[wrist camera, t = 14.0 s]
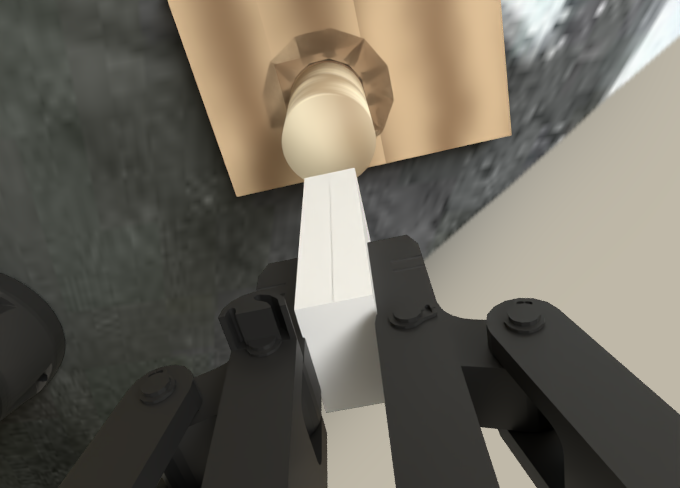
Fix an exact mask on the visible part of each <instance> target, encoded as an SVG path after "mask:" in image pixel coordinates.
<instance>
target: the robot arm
mask: <svg viewBox="0 0 680 488" xmlns="http://www.w3.org/2000/svg"><path fill="white" fill-rule="evenodd" d="M218 319H219V321H220V324H221V326H222V329H223V331H224V334H225V336H226V339H227V341H228V344H229V347H230V349H231V355H230V359H229V361H228V362H227V363H225V364H224V365H222V366H220V367H218V368H216V369H214V370H211V371H209V372H207V373H204V374H202V375H199V376H197V377H193V374H192V372H191V371H190V370H189V369H187V368H186V367H185V366H179V365H170V366H164V367H160V368H158V369H156V370H153V371H151V372H149V373H147V374H146V375H144V376H143V377H141V378H140V379H138V380H137V381H136V382H135V383H134V384H133V385H132V386H131V387H130V388H129V389H128V391H127V392H126V393H125V395H124V396H123V398H122V399H121V400H120V402H119V403H118V405H117V406H116V407H115V409H114V410H113V412H112V413H111V414H110V416H109V417H108V419H107V420H106V421H105V423H104V424H103V426H102V427H101V428H100V430H99V431H98V433H97V434H96V435H95V437H94V438H93V440H92V441H91V442H90V444H89V445H88V447H87V448H86V449H85V451H84V452H83V454H82V455H81V456H80V458H79V459H78V461H77V462H76V463H75V465H74V466H73V468H72V469H71V470H70V472H69V473H68V475H67V476H66V477H65V479H64V480H63V482H62V483H61V484H60V486H59V487H58V488H327V432H326V428H325V424H324V421H323V418H322V415H321V398H322V401H323V404H324V408H325V411H326V413H329V412H334V411H340V410H345V409H351V408H357V407H363V406H368V405H374V404H379V403H385V406H386V414H387V422H388V430H389V438H390V445H391V452H392V461H393V468H394V476H395V484H396V488H499V484H498V481H497V478H496V475H495V472H494V469H493V466H492V462H491V459H490V456H489V453H488V450H487V447H486V444H485V441H484V437H483V434H482V431H481V428H480V427H485V428H495V429H498V431H499V433H500V436H501V437H502V439H503V440H504V442H505V443H506V444H507V446H508V447H509V448H510V450H511V452H512V453H513V454H514V456H515V457H516V459H517V460H518V461H519V463H520V464H521V466H522V467H523V469H524V470H525V471H526V473H527V474H528V475H529V477H530V478H531V480H532V481H533V483H534V484H535V486H536V487H537V488H680V415H679V414H678V413H677V412H676V411H675V410H674V409H673V408H672V407H670V406H669V405H668V404H667V403H666V402H665V401H663V400H662V399H661V398H660V397H659V396H658V395H656V393H654V392H653V391H652V390H651V389H650V388H649V387H647V386H646V385H645V384H643V382H642V381H641V380H639V379H638V378H637V377H636V376H635V375H634V374H632V373H631V372H630V371H629V370H628V369H627V368H626V367H625V366H623V365H622V364H621V363H620V362H619V361H618V360H616V359H615V358H614V357H613V356H612V355H611V354H610V353H608V352H607V351H606V350H605V349H604V348H603V347H601V346H600V345H599V344H598V343H597V342H596V341H595V340H594V339H592V338H591V337H590V336H589V335H588V334H587V333H585V332H584V331H583V330H582V329H581V328H580V327H579V326H577V325H576V324H575V323H574V322H573V321H572V320H571V319H569V318H568V317H567V316H566V315H565V314H564V313H563V312H561V311H560V310H559V309H558V308H556V307H555V306H553V305H551V304H550V303H548V302H545V301H541V300H537V299H534V298H531V299H530V298H517V299H513V300H508V301H504V302H503V303H500V304H498V305H497V306H495V307H493V309H492V310H491V311H490V312H489V313H488V314H487V320H473V319H463V318H459V317H456V316H452V315H450V314H448V313H446V312H445V311H443V309H441V307H440V306H439V304H438V303H437V301H436V299H435V295H434V292H433V289H432V286H431V283H430V280H429V276H428V273H427V270H426V267H425V264H424V260H423V257H422V254H421V251H420V248H419V245H418V243H417V242H416V241H414V240H413V239H412V238H410V237H409V236H408V235H403V236H398V237H393V238H388V239H383V240H378V241H373V242H370V237H369V232H368V228H367V223H366V218H365V214H364V209H363V204H362V200H361V195H360V190H359V185H358V181H357V176H356V171H355V168H351V169H346V170H341V171H336V172H332V173H327V174H322V175H317V176H313V177H308V178H304V191H303V204H302V216H301V229H300V242H299V254H298V258H295V259H290V260H285V261H280V262H275V263H270V264H268V265H267V266H266V268H265V269H264V270H263V271H262V273H261V274H260V275H259V276H258V282H257V287H256V292H253V293H250V294H246V295H243V296H241V297H239V298H237V299H236V300H234V301H232V302H231V303H229V304H228V305H227V306H226V307H225V308H224V309H223V310H222V312H221V314H220V315H219V317H218ZM64 352H65V338H64V333H63V330H62V327H61V324H60V322H59V320H58V318H57V317H56V315H55V314H54V312H53V311H52V309H51V308H50V307H49V306H48V305H47V303H46V302H45V301H44V300H43V299H42V298H41V297H40V296H38V295H37V294H36V293H35V292H34V291H32V290H31V289H30V288H28V287H27V286H25V285H24V284H22V283H20V282H19V281H17V280H15V279H13V278H11V277H9V276H6V275H4V274H1V273H0V421H1V420H2V419H3V418H5V417H6V416H7V415H9V414H10V413H12V412H13V411H14V410H16V409H17V408H18V407H20V406H21V405H22V404H24V403H25V402H26V401H28V400H29V399H30V398H32V397H33V396H34V395H36V394H37V393H38V392H40V391H41V390H42V389H43V388H44V387H45V386H46V385H47V384H48V383H49V381H50V380H51V378H52V377H53V375H54V374H55V372H56V370H57V369H58V367H59V366H60V364H61V362H62V360H63V357H64ZM161 476H162V478H161ZM160 478H161V480H160ZM159 480H160V481H159ZM158 482H159V483H158ZM157 483H158V485H157ZM156 485H157V486H156Z"/></svg>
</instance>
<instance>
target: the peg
mask: <svg viewBox="0 0 680 488" xmlns="http://www.w3.org/2000/svg"><path fill="white" fill-rule="evenodd" d="M375 147H376V134H375V130H374V126H373V122H372V119H371V115H370V111H369V108H368V104H367V101H366V97H365V91H364V87H363V84H362V82H361V80H360V78H359V76H358V75H357V74H356V73H355V72H354V71H353V70H352V69H351V68H350V67H348V66H347V65H345V64H343V63H341V62H338V61H333V60H322V61H317V62H314V63H312V64H310V65H308V66H307V67H305V68H304V69H303V70H302V71H301V72H300V73H299V74H298V75H297V77H296V78H295V80H294V82H293V84H292V87H291V92H290V100H289V104H288V109H287V114H286V118H285V123H284V128H283V133H282V149H283V154H284V156H285V159H286V161H287V163H288V165H289V166H290V167H291V169H292V170H293V171H294V172H295V173H296V174H297V175H298V176H299V177H301V178H302V179H304V178H308V177H313V176H317V175H322V174H327V173H332V172H336V171H341V170H346V169H351V168H355V171H356V176H357V177H358V176H360V175H361V174H362V173H363V172H364V171H365V170H366V168H367V167H368V166H369V164H370V162H371V160H372V158H373V156H374V152H375Z"/></svg>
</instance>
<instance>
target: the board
mask: <svg viewBox="0 0 680 488" xmlns="http://www.w3.org/2000/svg"><path fill="white" fill-rule="evenodd" d="M168 3H169V6H170V9H171V12H172V15H173V17H174V20H175V23H176V26H177V29H178V32H179V34H180V37H181V40H182V43H183V46H184V49H185V51H186V54H187V57H188V60H189V63H190V66H191V68H192V71H193V74H194V77H195V80H196V83H197V85H198V88H199V91H200V94H201V97H202V100H203V102H204V105H205V108H206V111H207V114H208V117H209V119H210V122H211V125H212V128H213V131H214V134H215V136H216V139H217V142H218V145H219V148H220V151H221V153H222V156H223V159H224V162H225V165H226V168H227V170H228V173H229V176H230V179H231V182H232V185H233V188H234V190H235V193H236V196H237V197H239V196H244V195H248V194H252V193H257V192H261V191H266V190H270V189H275V188H279V187H284V186H288V185H292V184H297V183H301V182H304V179H302V178H301V177H299V176H298V175H297V174H296V173H295V172H294V171H293V170H292V169H291V167H290V166H289V165H288V163H287V161H286V159H285V156H284V154H283V149H282V133H283V128H284V123H285V118H286V114H287V109H288V104H289V100H290V92H291V87H292V84H293V82H294V80H295V77H296V76H297V75H298V74H299V73H300V72H301V71H302V70H303V69H304V68H305V67H306V66H307V65H308V64H309V63H313V62H317V61H321V60H325V59H332V60H335V61H339V62H342V63H345V64H348V65H349V66H350V67H351V68H352V69H353V70H354V71H355V72H356V73H357V75H358V76H359V77H360V78H361V79H362V84H363V87H364V91H365V97H366V101H367V104H368V108H369V111H370V115H371V119H372V122H373V126H374V130H375V134H376V147H375V152H374V156H373V158H372V160H371V162H370V164H369V166H368V167H372V166H377V165H381V164H386V163H390V162H395V161H399V160H404V159H408V158H412V157H417V156H421V155H426V154H430V153H435V152H439V151H444V150H448V149H452V148H457V147H461V146H466V145H470V144H475V143H479V142H484V141H488V140H492V139H497V138H501V137H506V136H510V135H511V122H510V110H509V98H508V86H507V74H506V61H505V49H504V37H503V25H502V13H501V0H168ZM368 167H367V168H368Z"/></svg>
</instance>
